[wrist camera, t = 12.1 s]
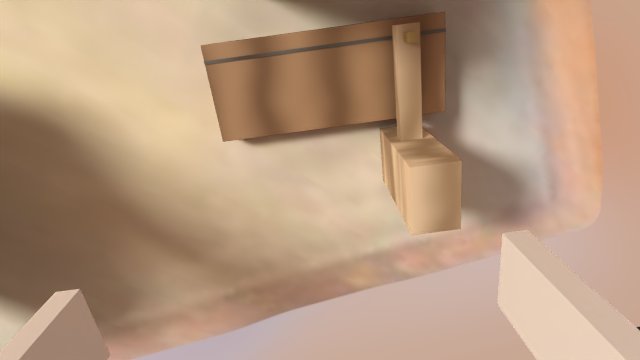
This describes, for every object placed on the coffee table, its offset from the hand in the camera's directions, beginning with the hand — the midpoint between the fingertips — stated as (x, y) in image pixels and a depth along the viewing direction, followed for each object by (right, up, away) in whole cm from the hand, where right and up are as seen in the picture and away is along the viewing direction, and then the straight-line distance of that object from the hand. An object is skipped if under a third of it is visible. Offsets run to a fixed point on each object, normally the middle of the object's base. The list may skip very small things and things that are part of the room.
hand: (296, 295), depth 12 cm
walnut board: (+1, +14, +25) cm, 29 cm away
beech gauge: (+9, +11, +27) cm, 30 cm away
